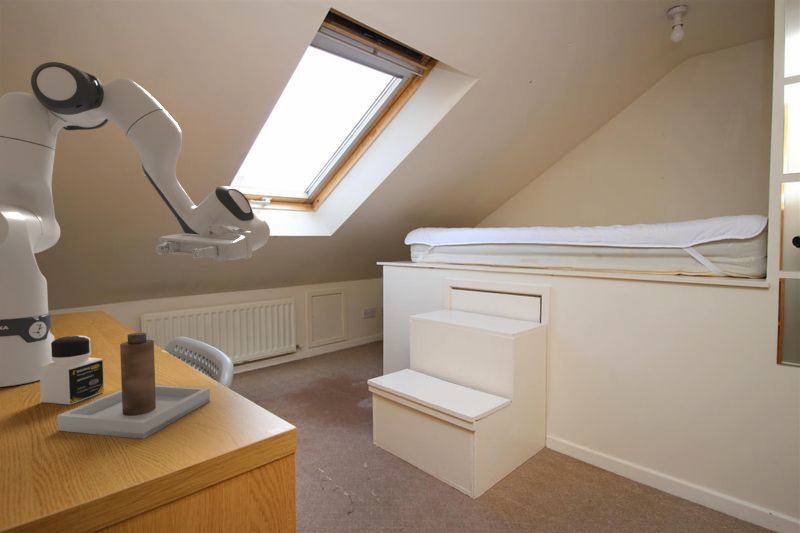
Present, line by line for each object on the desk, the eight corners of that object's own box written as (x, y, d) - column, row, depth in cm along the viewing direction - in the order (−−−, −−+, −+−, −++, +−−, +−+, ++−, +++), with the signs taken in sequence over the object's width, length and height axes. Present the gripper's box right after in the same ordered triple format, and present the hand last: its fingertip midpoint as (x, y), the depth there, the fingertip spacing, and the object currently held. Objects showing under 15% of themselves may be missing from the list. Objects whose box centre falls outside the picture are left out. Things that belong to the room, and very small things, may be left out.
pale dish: (58, 430, 68) (57, 415, 68) (138, 395, 83) (137, 383, 83) (143, 438, 65) (142, 422, 64) (209, 401, 80) (209, 388, 80)
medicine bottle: (70, 405, 79) (68, 342, 78) (40, 402, 80) (37, 340, 79) (104, 392, 86) (102, 334, 85) (75, 390, 87) (73, 332, 86)
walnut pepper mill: (115, 414, 72) (112, 336, 71) (138, 403, 77) (136, 330, 76) (140, 416, 71) (137, 337, 70) (162, 405, 76) (160, 331, 75)
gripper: (185, 225, 104) (136, 233, 91) (256, 231, 98) (214, 241, 85) (187, 250, 105) (139, 262, 92) (257, 258, 99) (217, 271, 87)
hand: (176, 252), depth 89 cm, fingers open, 8 cm apart
